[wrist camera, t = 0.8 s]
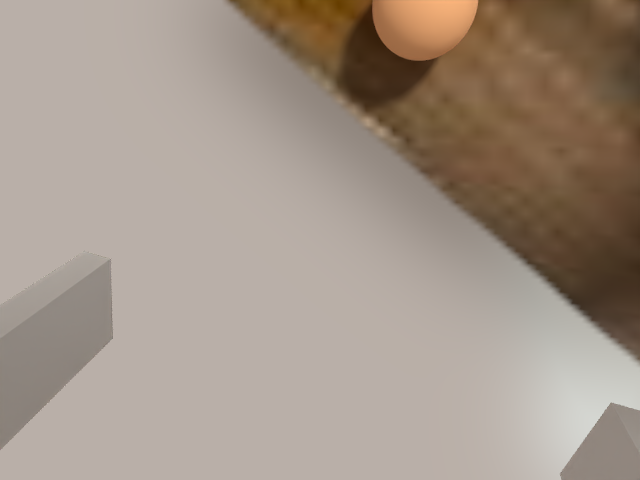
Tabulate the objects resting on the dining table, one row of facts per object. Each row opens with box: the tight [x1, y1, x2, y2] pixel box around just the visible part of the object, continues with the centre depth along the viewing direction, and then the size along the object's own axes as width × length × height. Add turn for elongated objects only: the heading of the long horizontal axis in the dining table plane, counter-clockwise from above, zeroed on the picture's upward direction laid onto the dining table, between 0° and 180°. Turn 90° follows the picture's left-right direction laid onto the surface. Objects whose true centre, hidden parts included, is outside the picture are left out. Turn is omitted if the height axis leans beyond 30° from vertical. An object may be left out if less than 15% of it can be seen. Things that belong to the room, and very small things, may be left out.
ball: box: [372, 0, 478, 61], centre depth 23 cm, size 6×6×6 cm
